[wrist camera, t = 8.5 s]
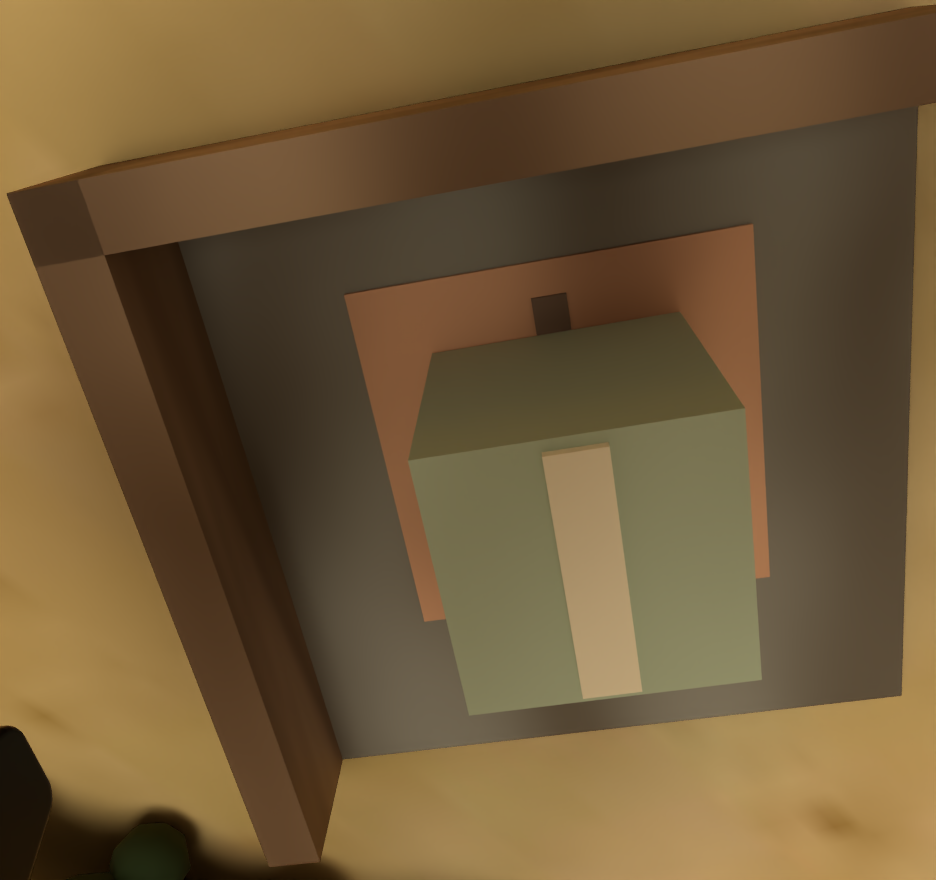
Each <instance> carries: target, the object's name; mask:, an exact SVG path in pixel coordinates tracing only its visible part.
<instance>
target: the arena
mask: <svg viewBox="0 0 936 880" xmlns="http://www.w3.org/2000/svg"><path fill="white" fill-rule="evenodd" d="M931 103H936V5H928V6H917V7H909V8H904V9H899V10H894V11H888V12H883V13H878V14H873V15H868V16H863V17H858V18H853V19H848V20H842V21H837V22H832V23H827V24H822V25H817V26H812V27H807V28H802V29H796V30H791V31H786V32H781V33H776V34H771V35H766V36H761V37H756V38H750V39H745V40H740V41H735V42H730V43H725V44H720V45H715V46H710V47H704V48H699V49H694V50H689V51H684V52H679V53H674V54H669V55H664V56H658V57H653V58H648V59H643V60H638V61H633V62H628V63H623V64H618V65H612V66H607V67H602V68H597V69H592V70H587V71H582V72H577V73H572V74H566V75H561V76H556V77H551V78H546V79H541V80H536V81H531V82H526V83H520V84H515V85H510V86H505V87H500V88H495V89H490V90H485V91H480V92H474V93H469V94H464V95H459V96H454V97H449V98H444V99H439V100H434V101H428V102H423V103H418V104H413V105H408V106H403V107H398V108H393V109H388V110H382V111H377V112H372V113H367V114H362V115H357V116H352V117H347V118H342V119H336V120H331V121H326V122H321V123H316V124H311V125H306V126H301V127H296V128H290V129H285V130H280V131H275V132H270V133H265V134H260V135H255V136H250V137H244V138H239V139H234V140H229V141H224V142H219V143H214V144H209V145H204V146H198V147H193V148H188V149H183V150H178V151H173V152H168V153H163V154H158V155H152V156H147V157H142V158H137V159H132V160H127V161H122V162H117V163H112V164H106V165H101V166H98V167H94V168H91V169H87V170H84V171H81V172H77V173H74V174H71V175H67V176H64V177H61V178H57V179H54V180H50V181H47V182H44V183H40V184H37V185H34V186H30V187H27V188H24V189H20V190H17V191H13V192H10V193H7V196H8V199H9V202H10V204H11V207H12V209H13V212H14V214H15V217H16V220H17V222H18V225H19V227H20V230H21V232H22V235H23V237H24V240H25V243H26V245H27V248H28V250H29V253H30V255H31V258H32V260H33V263H34V266H35V268H36V271H37V273H38V276H39V278H40V281H41V284H42V286H43V289H44V291H45V294H46V296H47V299H48V301H49V304H50V307H51V309H52V312H53V314H54V317H55V319H56V322H57V325H58V327H59V330H60V332H61V335H62V337H63V340H64V342H65V345H66V348H67V350H68V353H69V355H70V358H71V360H72V363H73V366H74V368H75V371H76V373H77V376H78V378H79V381H80V383H81V386H82V389H83V391H84V394H85V396H86V399H87V401H88V404H89V406H90V409H91V412H92V414H93V417H94V419H95V422H96V424H97V427H98V430H99V432H100V435H101V437H102V440H103V442H104V445H105V447H106V450H107V453H108V455H109V458H110V460H111V463H112V465H113V468H114V471H115V473H116V476H117V478H118V481H119V483H120V486H121V488H122V491H123V494H124V496H125V499H126V501H127V504H128V506H129V509H130V512H131V514H132V517H133V519H134V522H135V524H136V527H137V529H138V532H139V535H140V537H141V540H142V542H143V545H144V547H145V550H146V552H147V555H148V558H149V560H150V563H151V565H152V568H153V570H154V573H155V576H156V578H157V581H158V583H159V586H160V588H161V591H162V593H163V596H164V599H165V601H166V604H167V606H168V609H169V611H170V614H171V617H172V619H173V622H174V624H175V627H176V629H177V632H178V634H179V637H180V640H181V642H182V645H183V647H184V650H185V652H186V655H187V657H188V660H189V663H190V665H191V668H192V670H193V673H194V675H195V678H196V681H197V683H198V686H199V688H200V691H201V693H202V696H203V698H204V701H205V704H206V706H207V709H208V711H209V714H210V716H211V719H212V722H213V724H214V727H215V729H216V732H217V734H218V737H219V739H220V742H221V745H222V747H223V750H224V752H225V755H226V757H227V760H228V763H229V765H230V768H231V770H232V773H233V775H234V778H235V780H236V783H237V786H238V788H239V791H240V793H241V796H242V798H243V801H244V803H245V806H246V809H247V811H248V814H249V816H250V819H251V821H252V824H253V827H254V829H255V832H256V834H257V837H258V839H259V842H260V844H261V847H262V850H263V852H264V855H265V857H266V860H267V862H268V865H269V867H275V866H284V865H294V864H304V863H314V862H320V860H321V855H322V851H323V846H324V842H325V837H326V833H327V828H328V824H329V819H330V815H331V810H332V806H333V801H334V797H335V792H336V788H337V783H338V779H339V774H340V770H341V765H342V761H343V759H350V758H359V757H368V756H377V755H385V754H394V753H403V752H412V751H420V750H429V749H438V748H447V747H455V746H464V745H473V744H482V743H491V742H499V741H508V740H517V739H526V738H534V737H543V736H552V735H561V734H569V733H578V732H587V731H596V730H604V729H613V728H622V727H631V726H640V725H648V724H657V723H666V722H675V721H683V720H692V719H701V718H710V717H718V716H727V715H736V714H745V713H753V712H762V711H771V710H780V709H789V708H797V707H806V706H815V705H824V704H832V703H841V702H850V701H859V700H867V699H876V698H885V697H894V696H901V695H902V659H903V623H904V587H905V552H906V516H907V480H908V445H909V409H910V373H911V338H912V302H913V266H914V231H915V195H916V159H917V124H918V106H920V105H925V104H931ZM675 312H681V314H682V315H683V317H684V318H685V320H686V321H687V323H688V324H689V326H690V327H691V329H692V330H693V332H694V333H695V335H696V336H697V338H698V339H699V341H700V342H701V344H702V345H703V346H704V348H705V349H706V351H707V352H708V354H709V355H710V357H711V358H712V360H713V361H714V363H715V364H716V366H717V367H718V369H719V370H720V372H721V373H722V375H723V376H724V378H725V379H726V381H727V382H728V384H729V385H730V387H731V388H732V390H733V391H734V392H735V394H736V395H737V397H738V398H739V400H740V401H741V403H742V404H743V406H744V407H745V414H746V431H747V447H748V463H749V479H750V495H751V511H752V528H753V544H754V560H755V576H756V592H757V609H758V625H759V641H760V657H761V673H762V680H757V681H749V682H741V683H733V684H725V685H716V686H708V687H700V688H692V689H684V690H675V691H667V692H659V693H651V694H643V695H634V696H626V697H618V698H610V699H602V700H593V701H585V702H577V703H569V704H561V705H552V706H544V707H536V708H528V709H520V710H511V711H503V712H495V713H487V714H479V715H470V716H469V713H468V709H467V705H466V700H465V696H464V692H463V688H462V684H461V680H460V675H459V671H458V667H457V663H456V659H455V655H454V650H453V646H452V642H451V638H450V634H449V630H448V625H447V621H446V617H445V613H444V609H443V605H442V601H441V596H440V592H439V588H438V584H437V580H436V576H435V571H434V567H433V563H432V559H431V555H430V551H429V546H428V542H427V538H426V534H425V530H424V526H423V521H422V517H421V513H420V509H419V505H418V501H417V497H416V492H415V488H414V484H413V480H412V476H411V472H410V467H409V463H408V458H409V454H410V449H411V445H412V440H413V436H414V432H415V427H416V423H417V418H418V414H419V409H420V405H421V400H422V396H423V392H424V387H425V383H426V378H427V374H428V369H429V365H430V361H431V356H432V353H438V352H444V351H450V350H456V349H462V348H468V347H474V346H479V345H485V344H491V343H497V342H503V341H509V340H515V339H521V338H527V337H533V336H539V335H545V334H550V333H556V332H562V331H568V330H574V329H580V328H586V327H592V326H598V325H604V324H610V323H616V322H621V321H627V320H633V319H639V318H645V317H651V316H657V315H663V314H669V313H675Z"/></svg>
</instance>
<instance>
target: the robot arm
mask: <svg viewBox="0 0 936 880" xmlns="http://www.w3.org/2000/svg"><path fill="white" fill-rule="evenodd" d="M51 808H52V789H51V785H50V783H49V780H48V778H47V777H46V775H45V773H44V771H43V769H42V767H41V765H40V764H39V762H38V760H37V758H36V756H35V754H34V752H33V751H32V749H31V747H30V745H29V743H28V741H27V740H26V738H25V736H24V735H23V733H22V732H21V731H20V730H18V729H17V728H16V727H13V726H0V880H29V879H30V876H31V873H32V870H33V867H34V863H35V860H36V857H37V854H38V851H39V847H40V844H41V841H42V838H43V835H44V831H45V828H46V825H47V822H48V819H49V815H50V812H51Z"/></svg>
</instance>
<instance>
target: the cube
mask: <svg viewBox="0 0 936 880" xmlns="http://www.w3.org/2000/svg"><path fill="white" fill-rule="evenodd" d="M408 463H409V467H410V472H411V476H412V480H413V484H414V488H415V492H416V497H417V501H418V505H419V509H420V513H421V517H422V521H423V526H424V530H425V534H426V538H427V542H428V546H429V551H430V555H431V559H432V563H433V567H434V571H435V576H436V580H437V584H438V588H439V592H440V596H441V601H442V605H443V609H444V613H445V617H446V621H447V625H448V630H449V634H450V638H451V642H452V646H453V650H454V655H455V659H456V663H457V667H458V671H459V675H460V680H461V684H462V688H463V692H464V696H465V700H466V705H467V709H468V713H469V716H470V715H479V714H487V713H495V712H503V711H511V710H520V709H528V708H536V707H544V706H552V705H561V704H569V703H577V702H585V701H593V700H602V699H610V698H618V697H626V696H634V695H643V694H651V693H659V692H667V691H675V690H684V689H692V688H700V687H708V686H716V685H725V684H733V683H741V682H749V681H757V680H762V673H761V657H760V641H759V625H758V609H757V592H756V576H755V560H754V544H753V528H752V511H751V495H750V479H749V463H748V447H747V431H746V414H745V407H744V406H743V404H742V403H741V401H740V400H739V398H738V397H737V395H736V394H735V392H734V391H733V390H732V388H731V387H730V385H729V384H728V382H727V381H726V379H725V378H724V376H723V375H722V373H721V372H720V370H719V369H718V367H717V366H716V364H715V363H714V361H713V360H712V358H711V357H710V355H709V354H708V352H707V351H706V349H705V348H704V346H703V345H702V344H701V342H700V341H699V339H698V338H697V336H696V335H695V333H694V332H693V330H692V329H691V327H690V326H689V324H688V323H687V321H686V320H685V318H684V317H683V315H682V314H681V312H675V313H669V314H663V315H657V316H651V317H645V318H639V319H633V320H627V321H621V322H616V323H610V324H604V325H598V326H592V327H586V328H580V329H574V330H568V331H562V332H556V333H550V334H545V335H539V336H533V337H527V338H521V339H515V340H509V341H503V342H497V343H491V344H485V345H479V346H474V347H468V348H462V349H456V350H450V351H444V352H438V353H432V356H431V361H430V365H429V369H428V374H427V378H426V383H425V387H424V392H423V396H422V400H421V405H420V409H419V414H418V418H417V423H416V427H415V432H414V436H413V440H412V445H411V449H410V454H409V458H408Z"/></svg>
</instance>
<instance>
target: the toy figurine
mask: <svg viewBox="0 0 936 880" xmlns="http://www.w3.org/2000/svg"><path fill="white" fill-rule="evenodd" d="M109 868H110V872H103V873H92V874H81V875H77V876H74V877H71V878H69V879H66V880H183V879H184V878H185V876H186V875H187V873H188V872H189V870H190V869H191V865H190V860H189V855H188V850H187V845H186V839H185V835H184V834H182V833H181V832H179V831H178V830H176V829H174V828H173V827H171V826H170V825H168V824H167V823H153V824H140V825H138V826H137V827H135V828H134V829H132V830H131V832H130V833H129V834H128V835H127V836H126V837H125V838H124V839H123V840H122V841H121V842H120V843H119V844H118V845H117V846H116V847H115V848H114V851H113V854H112V858H111V861H110V865H109ZM29 880H30V879H29Z"/></svg>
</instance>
